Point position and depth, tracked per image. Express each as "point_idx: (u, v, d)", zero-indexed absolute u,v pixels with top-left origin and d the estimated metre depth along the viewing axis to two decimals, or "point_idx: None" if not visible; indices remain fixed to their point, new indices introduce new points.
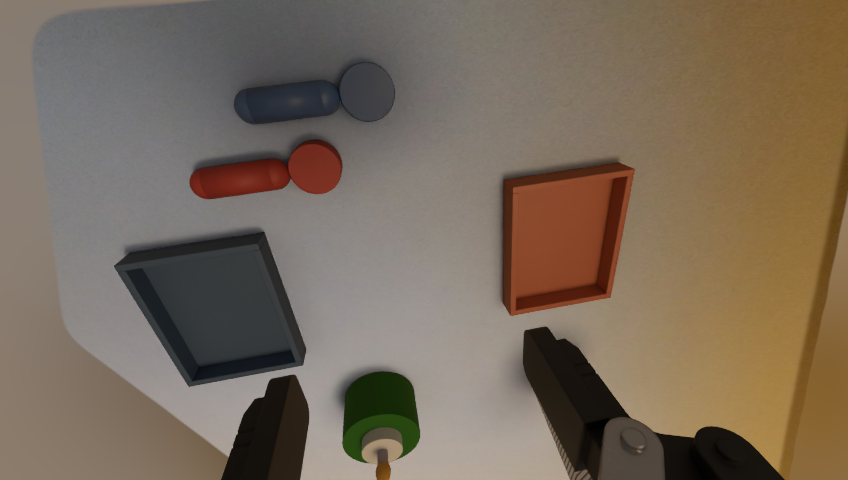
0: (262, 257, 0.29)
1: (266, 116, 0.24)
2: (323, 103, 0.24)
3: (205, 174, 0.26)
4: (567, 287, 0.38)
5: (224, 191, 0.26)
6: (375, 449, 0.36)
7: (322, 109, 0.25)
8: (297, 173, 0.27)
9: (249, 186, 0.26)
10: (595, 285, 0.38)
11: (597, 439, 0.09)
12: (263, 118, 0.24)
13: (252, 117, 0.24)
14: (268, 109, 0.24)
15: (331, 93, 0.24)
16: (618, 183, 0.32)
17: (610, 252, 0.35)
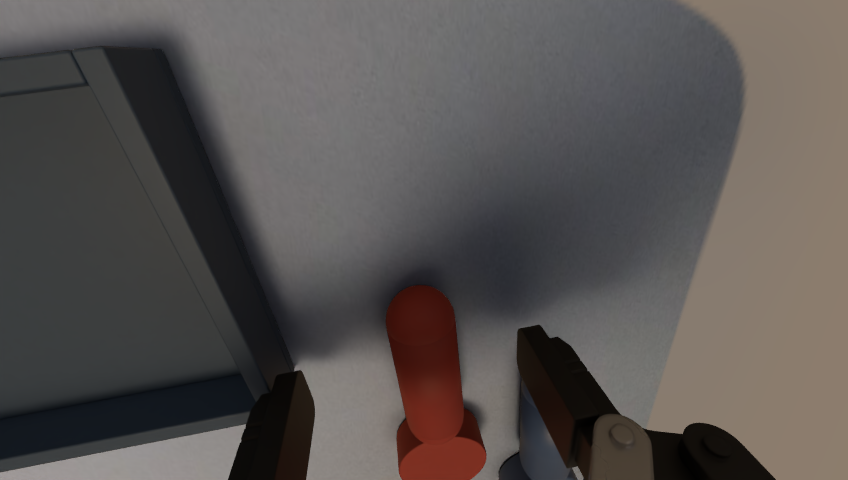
0: (242, 424, 0.12)
1: (544, 427, 0.14)
2: None
3: (451, 341, 0.12)
4: None
5: (414, 374, 0.12)
6: None
7: (540, 479, 0.16)
8: (438, 447, 0.15)
9: (424, 411, 0.13)
10: None
11: (587, 436, 0.09)
12: (541, 422, 0.14)
13: None
14: None
15: None
16: None
17: None
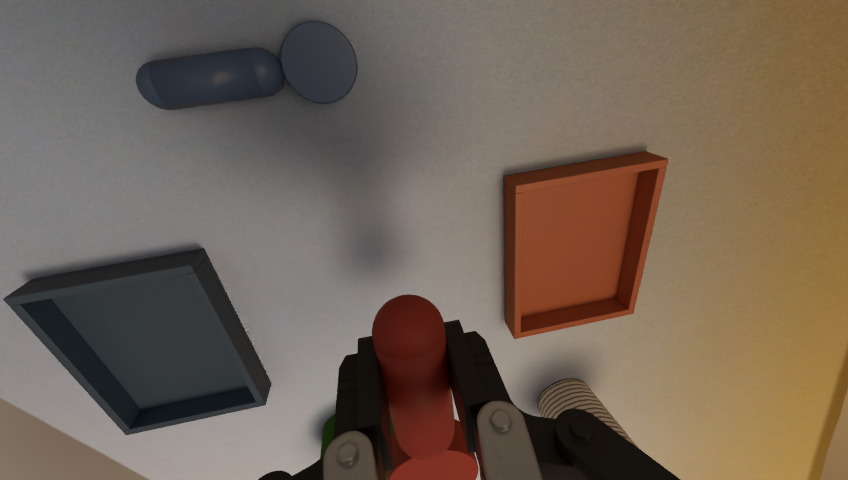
0: (199, 282, 0.23)
1: (181, 98, 0.18)
2: (258, 79, 0.18)
3: (440, 354, 0.11)
4: (581, 302, 0.32)
5: (402, 388, 0.11)
6: None
7: (258, 87, 0.18)
8: (428, 462, 0.14)
9: (413, 426, 0.12)
10: (614, 298, 0.32)
11: (476, 421, 0.09)
12: (178, 101, 0.18)
13: (162, 99, 0.18)
14: (182, 88, 0.18)
15: (268, 65, 0.18)
16: (646, 177, 0.26)
17: (634, 261, 0.29)
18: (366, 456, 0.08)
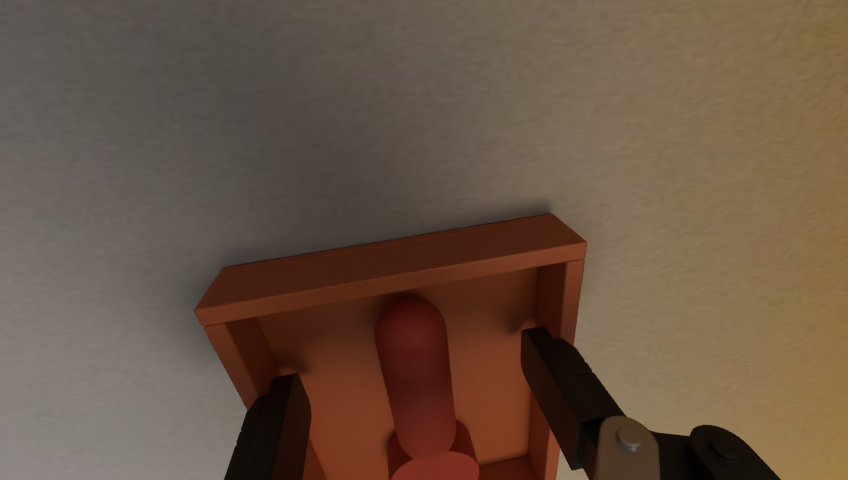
0: None
1: None
2: None
3: (442, 355, 0.11)
4: None
5: (404, 390, 0.11)
6: None
7: None
8: (430, 462, 0.14)
9: (415, 427, 0.12)
10: (525, 458, 0.18)
11: (593, 438, 0.09)
12: None
13: None
14: None
15: None
16: (549, 271, 0.12)
17: (544, 419, 0.15)
18: None
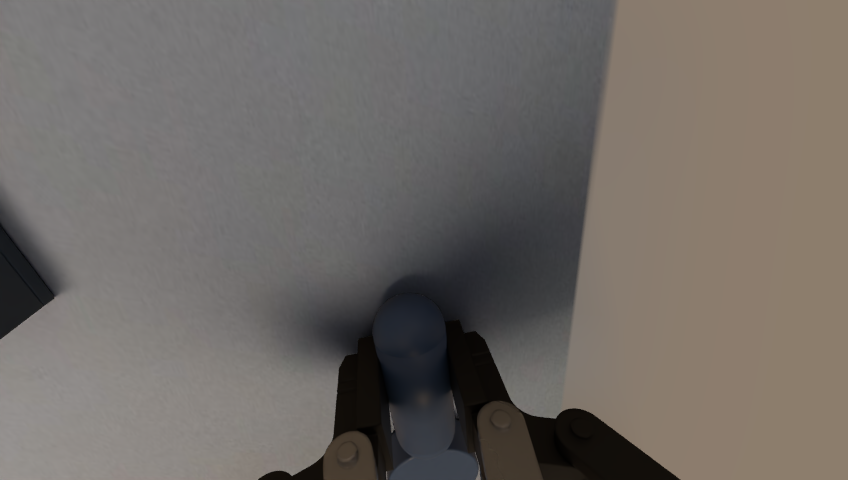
0: None
1: (396, 377, 0.11)
2: (422, 453, 0.13)
3: None
4: None
5: None
6: None
7: (411, 451, 0.13)
8: None
9: None
10: None
11: (476, 421, 0.09)
12: (391, 370, 0.11)
13: (393, 356, 0.10)
14: (411, 386, 0.11)
15: (438, 455, 0.13)
16: None
17: None
18: (366, 456, 0.08)
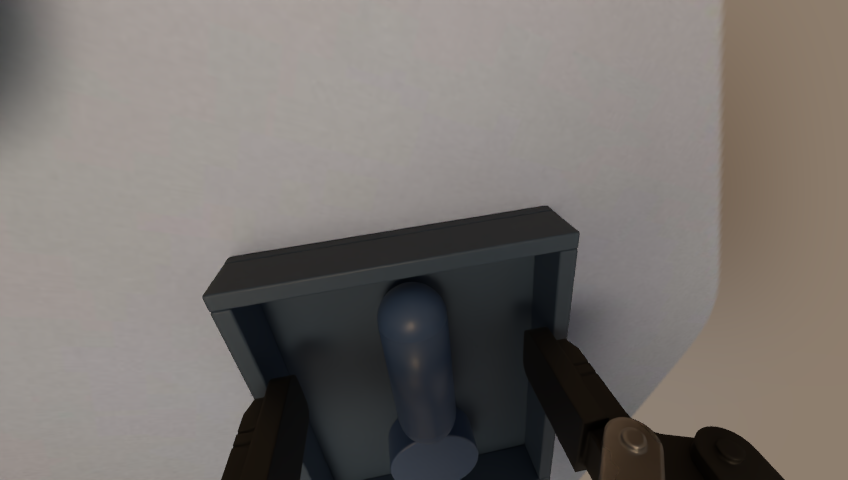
0: None
1: (399, 362, 0.11)
2: (424, 438, 0.13)
3: None
4: None
5: None
6: None
7: (413, 435, 0.13)
8: None
9: None
10: None
11: (597, 439, 0.09)
12: (395, 355, 0.11)
13: (397, 342, 0.11)
14: (415, 371, 0.11)
15: (439, 440, 0.14)
16: None
17: None
18: None
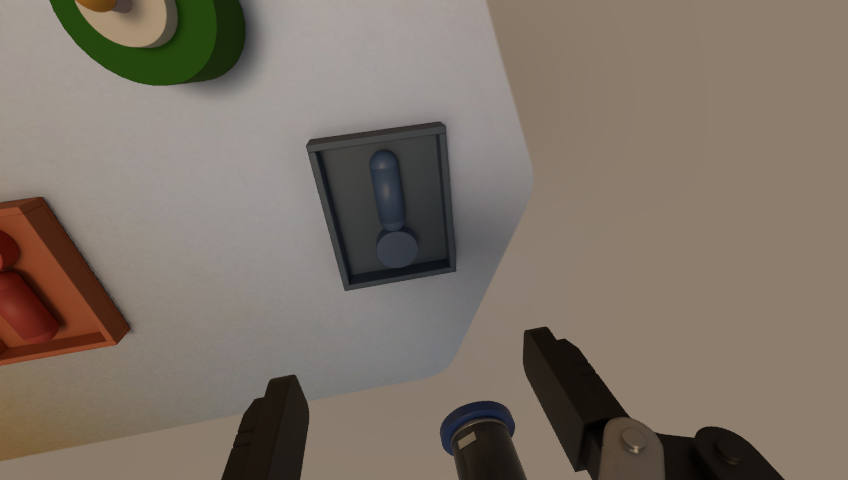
0: None
1: (378, 180, 0.29)
2: (390, 224, 0.31)
3: (18, 334, 0.30)
4: None
5: (26, 324, 0.30)
6: (138, 13, 0.18)
7: (385, 222, 0.31)
8: None
9: (9, 308, 0.29)
10: None
11: (597, 439, 0.09)
12: (376, 177, 0.29)
13: (376, 169, 0.28)
14: (384, 184, 0.29)
15: (397, 228, 0.31)
16: None
17: None
18: None
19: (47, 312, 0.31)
